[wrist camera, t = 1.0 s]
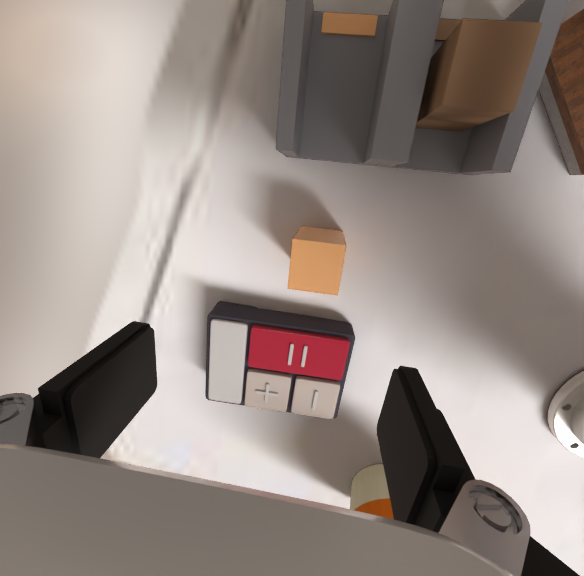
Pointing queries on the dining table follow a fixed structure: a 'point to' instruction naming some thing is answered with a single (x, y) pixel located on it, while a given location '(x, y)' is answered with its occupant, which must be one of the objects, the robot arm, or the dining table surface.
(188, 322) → the dining table surface
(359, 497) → the reusable coffee cup
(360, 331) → the dining table surface
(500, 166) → the grey slotted rack
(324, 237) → the tan tall block
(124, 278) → the dining table surface
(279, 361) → the calculator
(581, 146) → the banded white column
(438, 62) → the walnut plug
